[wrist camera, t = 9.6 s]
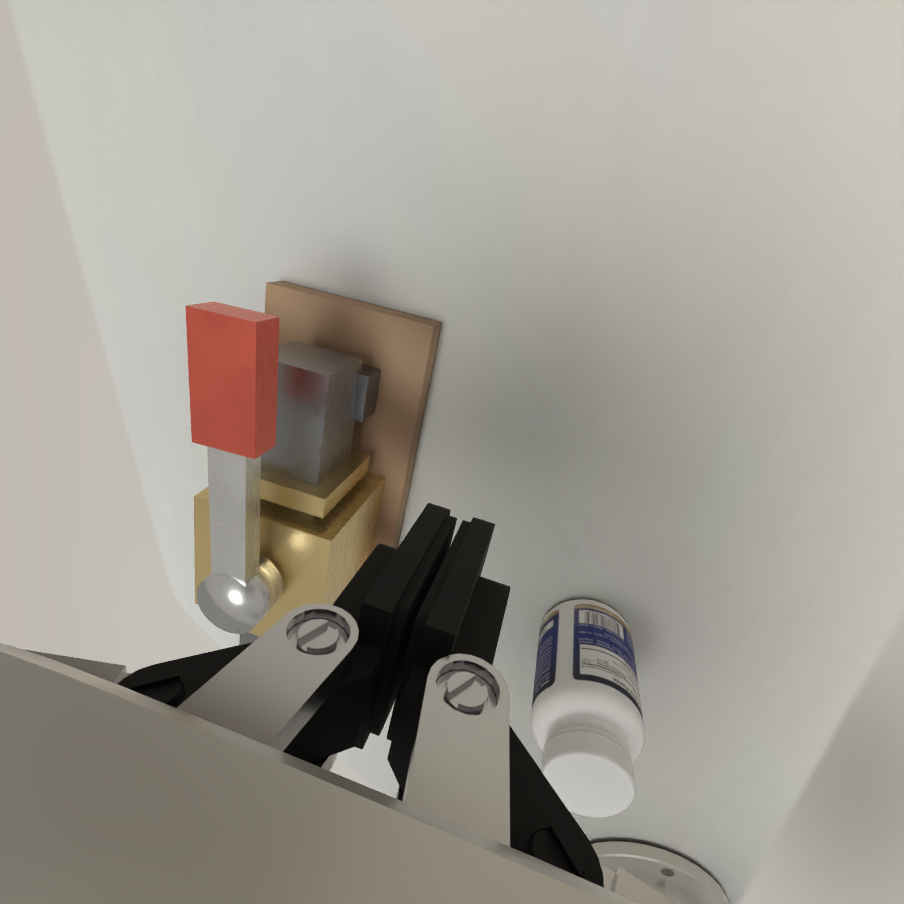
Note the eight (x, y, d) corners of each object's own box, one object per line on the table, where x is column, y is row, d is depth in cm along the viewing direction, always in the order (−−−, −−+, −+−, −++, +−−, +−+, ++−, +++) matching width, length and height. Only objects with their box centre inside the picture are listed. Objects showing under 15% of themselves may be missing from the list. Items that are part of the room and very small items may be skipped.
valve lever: (282, 612, 24) (256, 643, 22) (226, 594, 24) (196, 623, 22) (295, 315, 18) (261, 323, 16) (221, 298, 19) (180, 304, 17)
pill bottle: (564, 675, 32) (557, 836, 24) (525, 611, 31) (502, 753, 22) (647, 655, 30) (673, 822, 21) (608, 584, 29) (619, 731, 20)
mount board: (375, 659, 36) (367, 675, 34) (261, 618, 37) (249, 632, 35) (441, 322, 26) (434, 326, 24) (282, 280, 27) (266, 282, 26)
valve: (356, 648, 34) (306, 737, 27) (264, 615, 34) (196, 695, 28) (405, 360, 25) (349, 395, 19) (283, 327, 26) (192, 351, 20)
